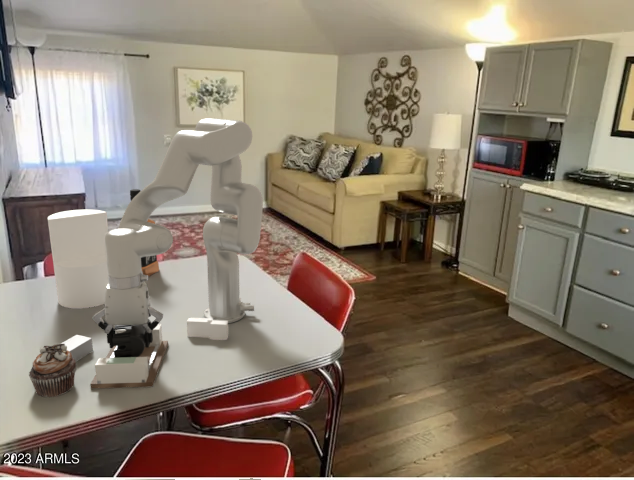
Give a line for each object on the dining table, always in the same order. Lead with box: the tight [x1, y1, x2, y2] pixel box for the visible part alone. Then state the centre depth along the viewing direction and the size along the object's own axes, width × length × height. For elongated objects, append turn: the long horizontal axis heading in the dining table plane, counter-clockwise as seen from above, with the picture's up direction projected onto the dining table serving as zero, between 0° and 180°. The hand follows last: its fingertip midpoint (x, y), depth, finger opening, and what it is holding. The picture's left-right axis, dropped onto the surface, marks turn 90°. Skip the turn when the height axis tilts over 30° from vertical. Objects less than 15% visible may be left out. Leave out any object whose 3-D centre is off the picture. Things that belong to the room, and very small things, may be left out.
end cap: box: [113, 325, 146, 358], centre depth 121 cm, size 10×7×7 cm
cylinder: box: [47, 208, 109, 309], centre depth 158 cm, size 17×17×28 cm
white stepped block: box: [186, 317, 229, 341], centre depth 138 cm, size 15×11×6 cm
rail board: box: [89, 340, 169, 389], centre depth 123 cm, size 14×20×1 cm
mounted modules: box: [94, 323, 163, 384], centre depth 123 cm, size 11×20×5 cm, turn 6°
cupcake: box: [28, 343, 77, 398], centre depth 112 cm, size 10×10×10 cm
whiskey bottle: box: [129, 188, 160, 278], centre depth 180 cm, size 10×10×32 cm
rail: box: [97, 344, 160, 384], centre depth 123 cm, size 11×20×1 cm, turn 6°
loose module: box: [60, 334, 94, 362], centre depth 126 cm, size 5×8×4 cm, turn 161°
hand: (130, 344), depth 122 cm, fingers closed on end cap, 8 cm apart
